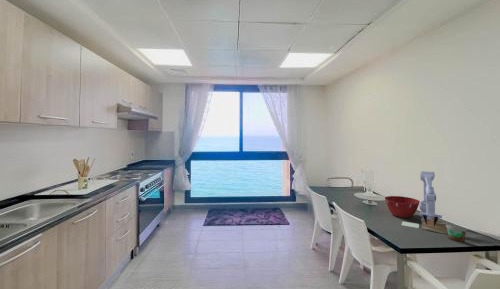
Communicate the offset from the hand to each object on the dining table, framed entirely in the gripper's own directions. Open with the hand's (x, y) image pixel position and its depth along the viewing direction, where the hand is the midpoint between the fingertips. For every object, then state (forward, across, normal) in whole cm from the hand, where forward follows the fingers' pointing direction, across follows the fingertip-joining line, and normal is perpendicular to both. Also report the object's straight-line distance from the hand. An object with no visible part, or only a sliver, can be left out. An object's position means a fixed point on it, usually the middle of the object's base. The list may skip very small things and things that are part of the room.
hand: (430, 225), depth 199 cm
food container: (+3, +13, -19) cm, 23 cm away
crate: (+2, +4, 0) cm, 4 cm away
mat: (+2, -14, 0) cm, 14 cm away
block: (+1, 0, 0) cm, 1 cm away
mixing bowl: (+3, -22, +27) cm, 35 cm away
